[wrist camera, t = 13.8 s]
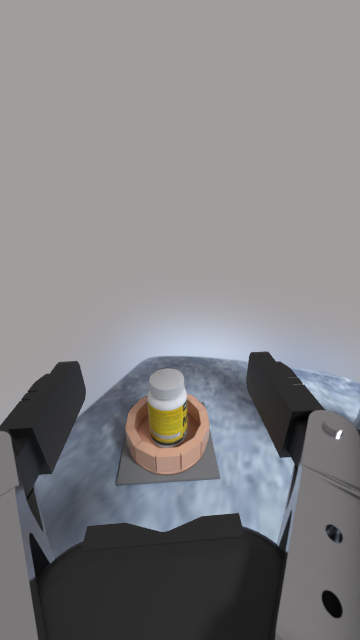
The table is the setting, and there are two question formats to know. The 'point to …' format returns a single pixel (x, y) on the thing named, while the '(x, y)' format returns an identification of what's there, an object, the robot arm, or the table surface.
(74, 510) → the table surface
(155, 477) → the mat
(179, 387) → the supplement bottle
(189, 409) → the bowl
